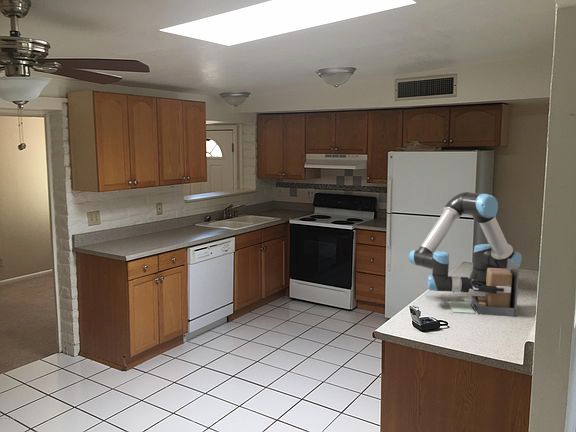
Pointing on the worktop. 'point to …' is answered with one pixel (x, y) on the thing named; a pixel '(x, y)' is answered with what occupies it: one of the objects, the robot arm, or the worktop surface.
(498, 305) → the wooden block
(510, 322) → the worktop surface
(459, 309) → the mat
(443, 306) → the worktop surface
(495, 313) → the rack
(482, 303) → the upper offcut
